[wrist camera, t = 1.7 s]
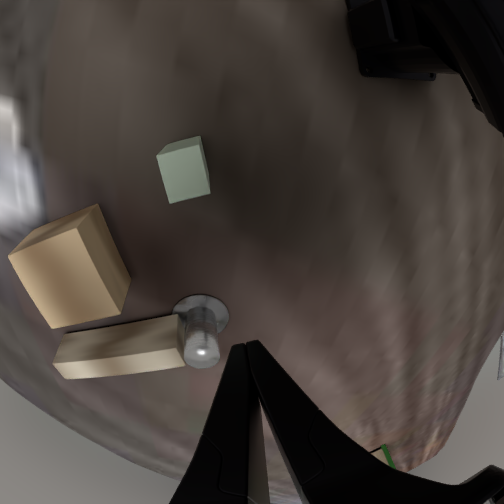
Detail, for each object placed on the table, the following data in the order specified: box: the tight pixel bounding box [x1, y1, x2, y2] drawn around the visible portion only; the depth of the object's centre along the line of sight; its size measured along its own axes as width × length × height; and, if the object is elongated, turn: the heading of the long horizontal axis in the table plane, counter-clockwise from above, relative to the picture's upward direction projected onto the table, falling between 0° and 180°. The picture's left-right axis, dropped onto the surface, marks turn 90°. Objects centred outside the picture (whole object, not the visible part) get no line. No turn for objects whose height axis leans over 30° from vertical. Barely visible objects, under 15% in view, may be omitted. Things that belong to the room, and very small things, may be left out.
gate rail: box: [52, 314, 186, 379], centre depth 20 cm, size 11×2×4 cm, turn 100°
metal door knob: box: [172, 294, 229, 369], centre depth 20 cm, size 4×4×4 cm
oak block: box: [8, 204, 131, 329], centre depth 16 cm, size 6×6×4 cm
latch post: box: [156, 136, 210, 204], centre depth 15 cm, size 2×2×4 cm
